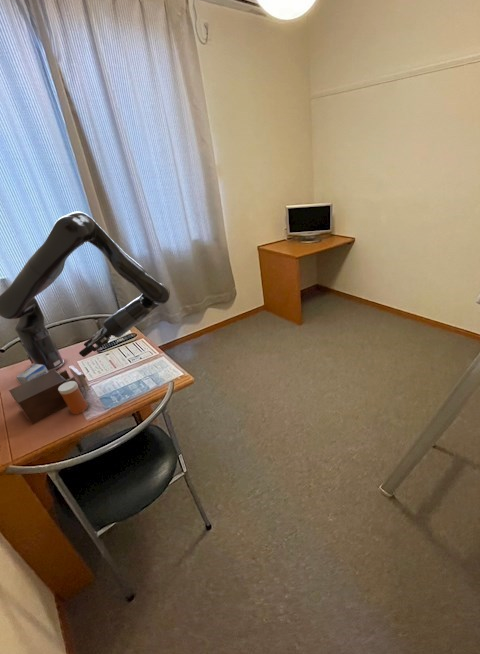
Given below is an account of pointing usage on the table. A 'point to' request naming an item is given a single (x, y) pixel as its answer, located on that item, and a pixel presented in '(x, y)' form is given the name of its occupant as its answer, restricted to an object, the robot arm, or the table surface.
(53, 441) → the table surface
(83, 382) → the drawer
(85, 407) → the pill bottle
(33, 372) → the medicine box
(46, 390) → the dark brown box
